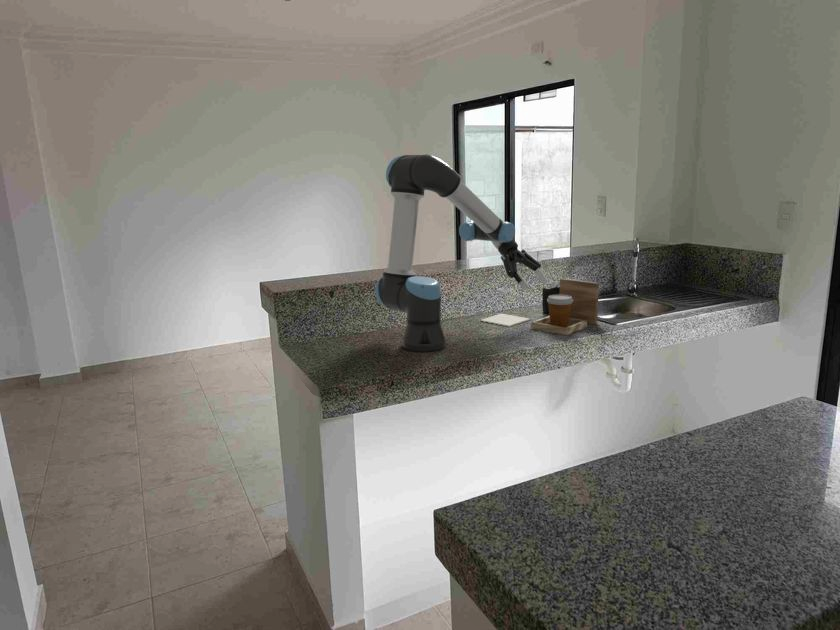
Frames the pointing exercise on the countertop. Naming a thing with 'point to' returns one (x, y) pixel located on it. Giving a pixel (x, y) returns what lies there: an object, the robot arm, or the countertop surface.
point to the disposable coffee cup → (559, 309)
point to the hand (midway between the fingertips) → (536, 285)
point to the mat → (505, 320)
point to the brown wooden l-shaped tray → (574, 307)
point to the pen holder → (545, 296)
